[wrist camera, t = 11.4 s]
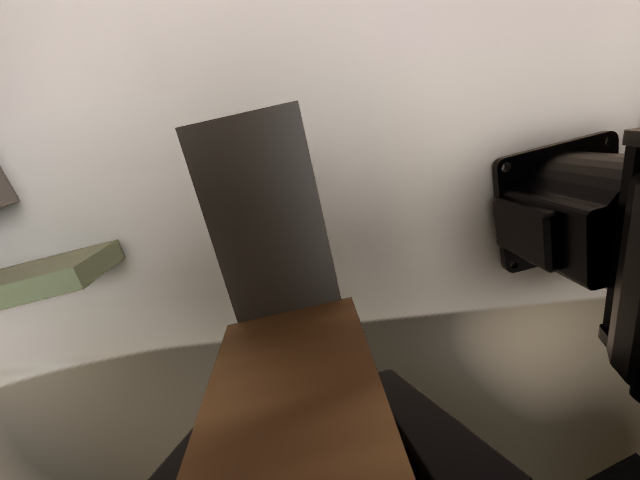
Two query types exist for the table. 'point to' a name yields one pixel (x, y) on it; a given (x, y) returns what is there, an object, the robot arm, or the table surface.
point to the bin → (56, 274)
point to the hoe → (281, 319)
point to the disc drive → (621, 470)
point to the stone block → (6, 191)
